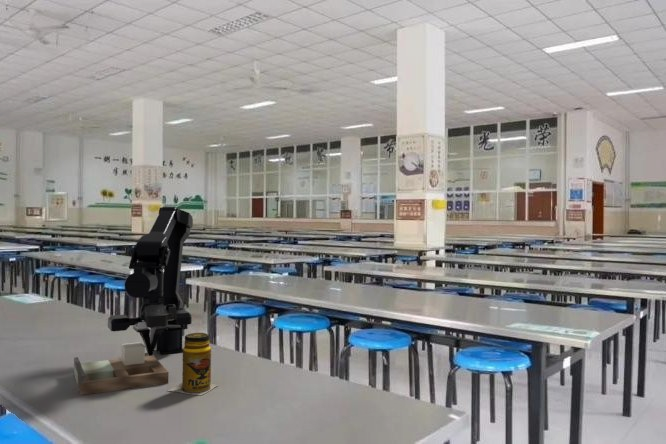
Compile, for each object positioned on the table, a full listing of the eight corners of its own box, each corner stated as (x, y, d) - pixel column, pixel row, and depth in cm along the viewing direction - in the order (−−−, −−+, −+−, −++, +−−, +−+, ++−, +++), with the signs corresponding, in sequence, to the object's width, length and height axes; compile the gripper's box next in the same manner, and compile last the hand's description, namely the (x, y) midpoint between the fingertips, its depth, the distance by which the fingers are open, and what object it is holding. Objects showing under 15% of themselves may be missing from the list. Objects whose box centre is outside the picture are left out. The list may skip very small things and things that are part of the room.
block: (140, 358, 133) (140, 342, 133) (144, 363, 129) (144, 346, 129) (121, 360, 131) (121, 344, 131) (124, 365, 127) (124, 348, 127)
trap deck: (152, 365, 137) (153, 349, 137) (168, 383, 123) (168, 365, 123) (74, 374, 128) (74, 357, 127) (81, 395, 114) (81, 376, 114)
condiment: (201, 396, 115) (202, 339, 115) (167, 391, 117) (167, 336, 117) (218, 385, 122) (219, 332, 122) (185, 381, 124) (186, 329, 124)
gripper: (115, 298, 120) (115, 369, 120) (198, 293, 130) (197, 358, 130) (107, 292, 130) (107, 357, 130) (185, 287, 139) (184, 348, 140)
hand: (150, 355), depth 132 cm, fingers closed
